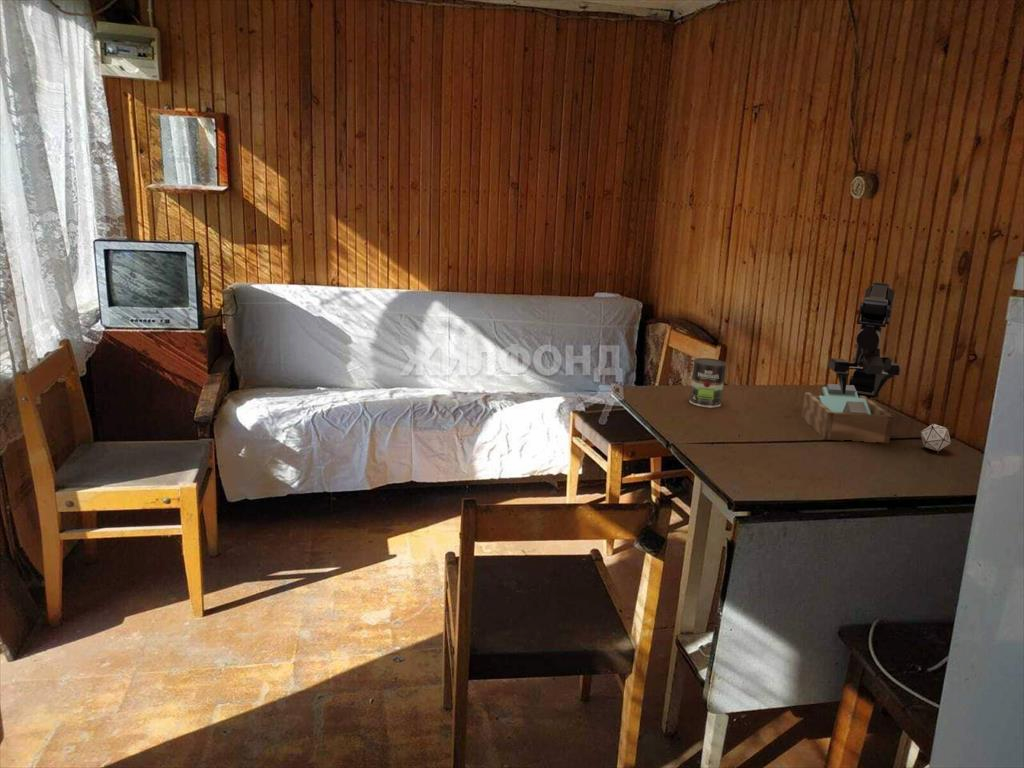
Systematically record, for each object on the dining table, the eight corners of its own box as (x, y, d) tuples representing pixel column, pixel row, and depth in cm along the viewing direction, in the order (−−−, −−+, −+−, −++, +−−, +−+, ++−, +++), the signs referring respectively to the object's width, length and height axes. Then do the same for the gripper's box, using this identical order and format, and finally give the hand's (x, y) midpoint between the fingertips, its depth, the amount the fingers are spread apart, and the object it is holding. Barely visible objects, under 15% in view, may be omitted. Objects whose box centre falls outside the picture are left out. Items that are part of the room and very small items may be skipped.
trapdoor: (815, 388, 244) (817, 382, 242) (860, 391, 243) (863, 385, 241) (828, 431, 231) (831, 425, 229) (876, 434, 230) (879, 428, 228)
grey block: (840, 416, 234) (846, 401, 230) (856, 417, 234) (863, 402, 230) (844, 427, 230) (851, 412, 226) (861, 428, 230) (868, 413, 226)
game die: (924, 460, 226) (919, 427, 229) (957, 456, 221) (952, 423, 225) (918, 452, 219) (913, 418, 223) (953, 448, 214) (947, 413, 218)
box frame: (801, 416, 248) (805, 392, 246) (860, 420, 248) (864, 396, 246) (824, 439, 227) (828, 413, 225) (888, 443, 227) (893, 417, 225)
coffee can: (720, 409, 251) (726, 367, 247) (687, 405, 254) (692, 363, 250) (721, 401, 261) (727, 360, 257) (690, 397, 263) (695, 356, 260)
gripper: (845, 347, 218) (836, 401, 222) (913, 351, 217) (903, 405, 222) (831, 339, 229) (823, 390, 233) (896, 342, 228) (886, 393, 232)
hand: (859, 395), depth 230 cm, fingers open, 9 cm apart
